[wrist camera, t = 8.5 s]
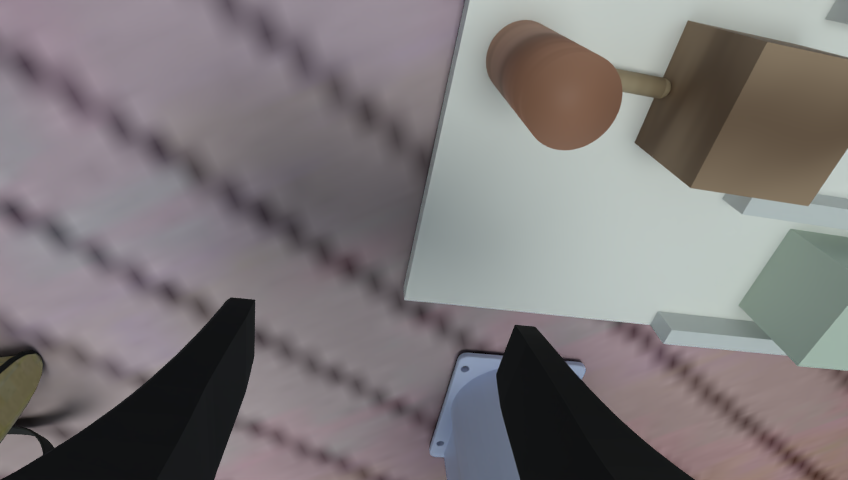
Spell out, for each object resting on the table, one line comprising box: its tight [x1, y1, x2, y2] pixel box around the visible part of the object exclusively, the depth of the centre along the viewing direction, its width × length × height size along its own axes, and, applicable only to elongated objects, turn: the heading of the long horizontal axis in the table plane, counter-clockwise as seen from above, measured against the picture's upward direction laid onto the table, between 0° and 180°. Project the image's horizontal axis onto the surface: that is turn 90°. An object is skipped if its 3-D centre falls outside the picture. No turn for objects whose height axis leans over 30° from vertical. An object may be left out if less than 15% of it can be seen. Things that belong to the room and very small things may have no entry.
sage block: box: [739, 229, 848, 371], centre depth 24 cm, size 5×5×4 cm
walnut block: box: [486, 20, 848, 206], centre depth 17 cm, size 5×12×6 cm, turn 79°
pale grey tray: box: [404, 0, 848, 355], centre depth 22 cm, size 17×26×2 cm, turn 79°
